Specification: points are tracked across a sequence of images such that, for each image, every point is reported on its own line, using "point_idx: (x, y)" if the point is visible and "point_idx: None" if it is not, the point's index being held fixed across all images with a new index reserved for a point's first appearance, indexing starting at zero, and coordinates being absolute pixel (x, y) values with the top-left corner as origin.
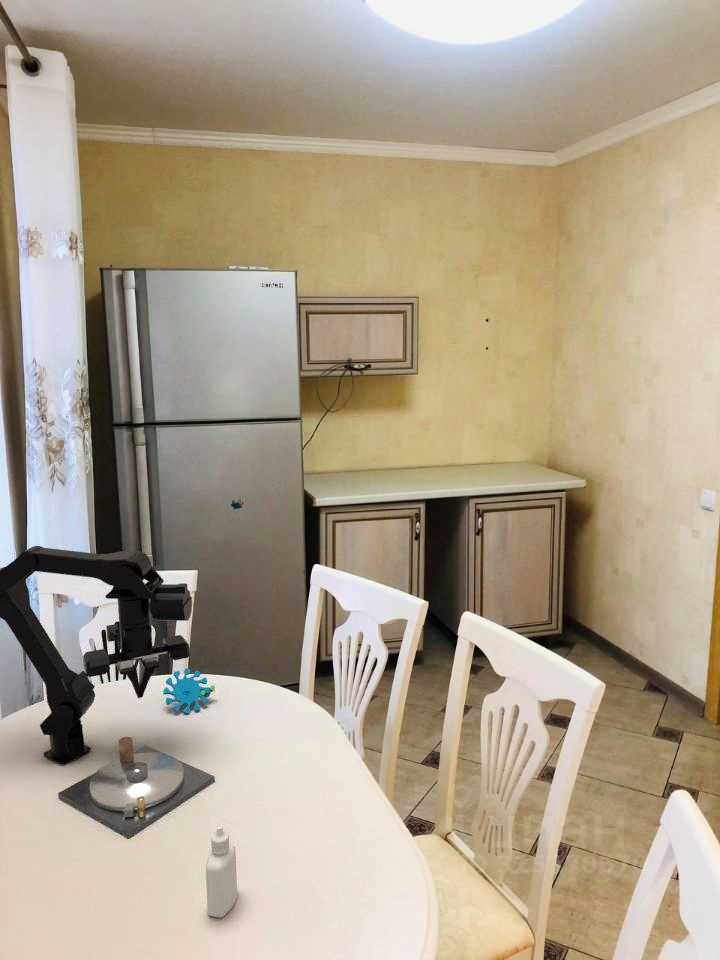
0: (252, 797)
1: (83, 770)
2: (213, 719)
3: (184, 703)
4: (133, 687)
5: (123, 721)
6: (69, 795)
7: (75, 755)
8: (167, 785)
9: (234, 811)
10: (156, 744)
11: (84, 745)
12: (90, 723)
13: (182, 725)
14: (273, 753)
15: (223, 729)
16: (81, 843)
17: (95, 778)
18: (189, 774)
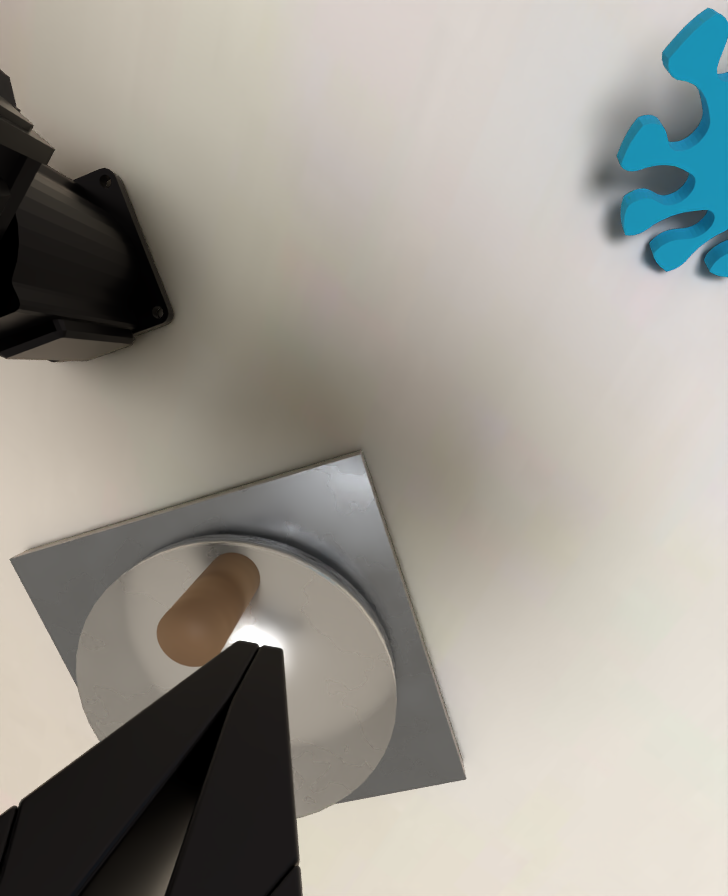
0: (504, 873)
1: (123, 439)
2: (717, 395)
3: (703, 206)
4: (147, 716)
5: (374, 121)
6: (41, 592)
7: (89, 356)
8: (300, 794)
9: (432, 887)
10: (412, 437)
11: (148, 272)
12: (230, 26)
13: (577, 355)
14: (710, 752)
15: (691, 502)
16: (62, 765)
17: (104, 616)
18: (406, 724)
